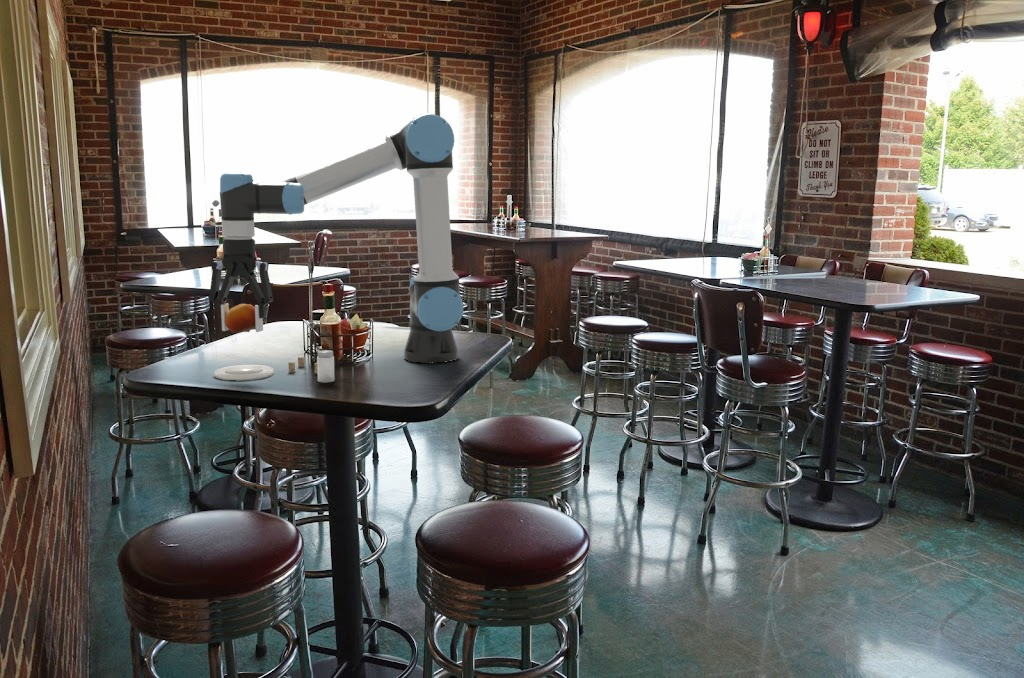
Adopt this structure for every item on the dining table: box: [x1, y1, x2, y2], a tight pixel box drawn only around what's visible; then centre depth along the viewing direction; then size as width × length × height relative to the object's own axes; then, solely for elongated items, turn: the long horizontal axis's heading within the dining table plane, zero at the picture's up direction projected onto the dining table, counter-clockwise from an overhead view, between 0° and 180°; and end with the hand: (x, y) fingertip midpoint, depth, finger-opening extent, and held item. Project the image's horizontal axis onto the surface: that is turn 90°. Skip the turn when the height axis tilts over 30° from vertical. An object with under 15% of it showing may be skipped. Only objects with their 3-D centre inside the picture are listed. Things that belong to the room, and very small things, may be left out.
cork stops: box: [288, 356, 318, 375], centre depth 209 cm, size 8×8×2 cm
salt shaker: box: [316, 349, 335, 383], centre depth 197 cm, size 4×4×7 cm
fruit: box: [225, 303, 256, 334], centre depth 201 cm, size 8×8×8 cm
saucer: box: [214, 364, 274, 382], centre depth 203 cm, size 14×14×1 cm
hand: (242, 330), depth 201 cm, fingers closed on fruit, 8 cm apart
